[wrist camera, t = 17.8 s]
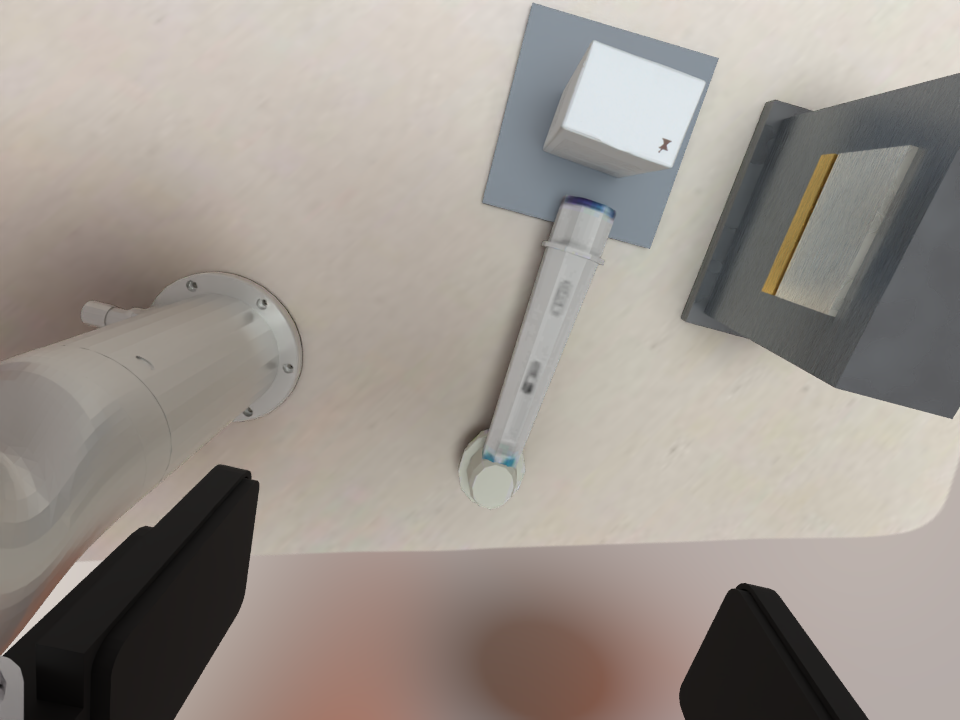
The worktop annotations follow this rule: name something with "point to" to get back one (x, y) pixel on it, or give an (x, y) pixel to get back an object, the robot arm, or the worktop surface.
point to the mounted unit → (848, 245)
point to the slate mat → (530, 111)
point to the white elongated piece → (537, 349)
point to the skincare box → (623, 113)
